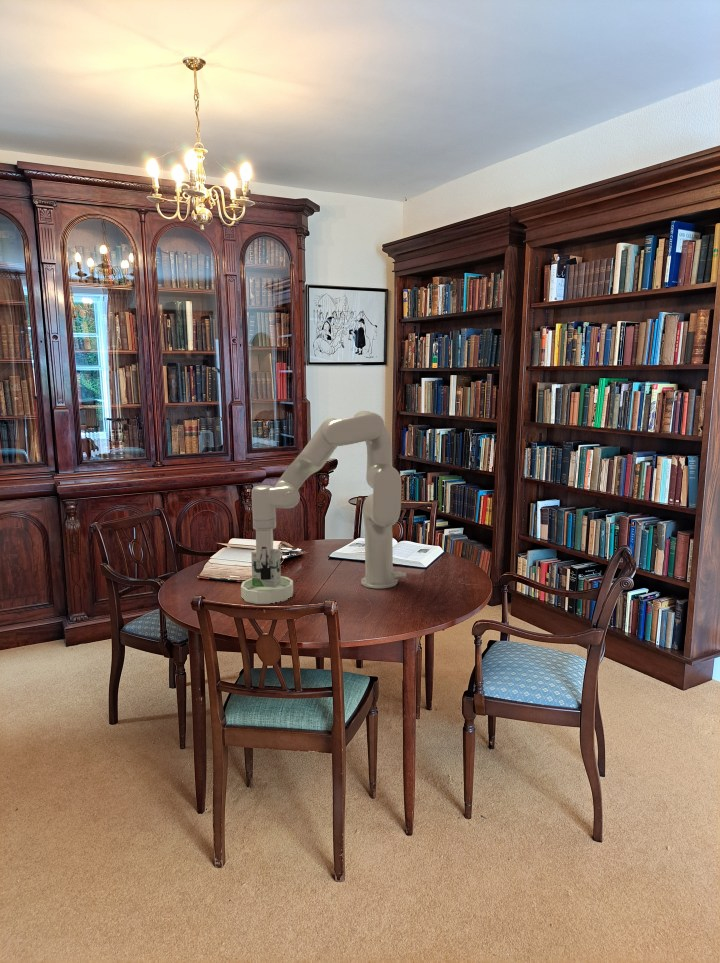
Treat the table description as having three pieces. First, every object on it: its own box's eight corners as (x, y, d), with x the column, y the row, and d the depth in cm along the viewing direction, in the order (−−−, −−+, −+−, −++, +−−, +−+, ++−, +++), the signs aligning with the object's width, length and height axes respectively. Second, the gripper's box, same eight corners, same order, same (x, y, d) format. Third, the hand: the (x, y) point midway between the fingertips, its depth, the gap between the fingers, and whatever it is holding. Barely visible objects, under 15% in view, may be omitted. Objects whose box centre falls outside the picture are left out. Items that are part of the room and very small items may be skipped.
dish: (294, 585, 223) (293, 574, 223) (291, 602, 207) (291, 590, 206) (245, 587, 222) (244, 576, 222) (238, 604, 206) (238, 592, 205)
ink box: (251, 586, 213) (250, 551, 211) (257, 581, 218) (256, 547, 216) (276, 588, 211) (274, 552, 209) (281, 583, 215) (280, 548, 213)
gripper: (255, 517, 219) (258, 568, 222) (249, 529, 202) (252, 585, 205) (278, 517, 219) (279, 568, 222) (274, 529, 202) (276, 584, 205)
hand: (266, 575), depth 214 cm, fingers closed on ink box, 6 cm apart
